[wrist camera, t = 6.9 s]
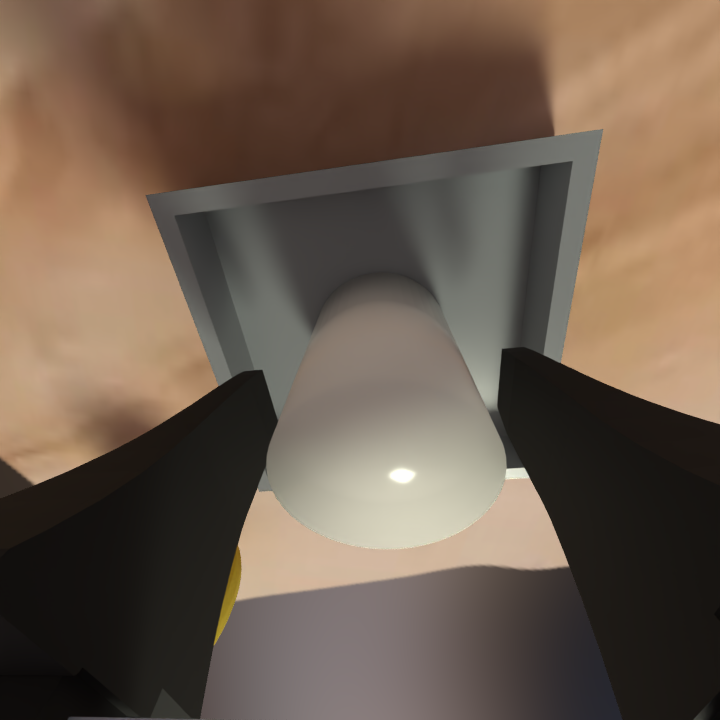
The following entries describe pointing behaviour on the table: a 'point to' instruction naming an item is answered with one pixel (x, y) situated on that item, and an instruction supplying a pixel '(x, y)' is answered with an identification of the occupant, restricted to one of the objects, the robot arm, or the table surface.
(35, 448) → the table surface
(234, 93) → the table surface
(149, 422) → the table surface
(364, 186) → the tray
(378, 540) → the capsule
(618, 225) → the table surface
